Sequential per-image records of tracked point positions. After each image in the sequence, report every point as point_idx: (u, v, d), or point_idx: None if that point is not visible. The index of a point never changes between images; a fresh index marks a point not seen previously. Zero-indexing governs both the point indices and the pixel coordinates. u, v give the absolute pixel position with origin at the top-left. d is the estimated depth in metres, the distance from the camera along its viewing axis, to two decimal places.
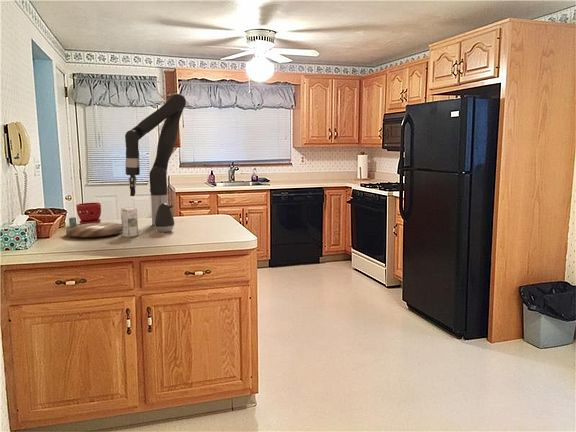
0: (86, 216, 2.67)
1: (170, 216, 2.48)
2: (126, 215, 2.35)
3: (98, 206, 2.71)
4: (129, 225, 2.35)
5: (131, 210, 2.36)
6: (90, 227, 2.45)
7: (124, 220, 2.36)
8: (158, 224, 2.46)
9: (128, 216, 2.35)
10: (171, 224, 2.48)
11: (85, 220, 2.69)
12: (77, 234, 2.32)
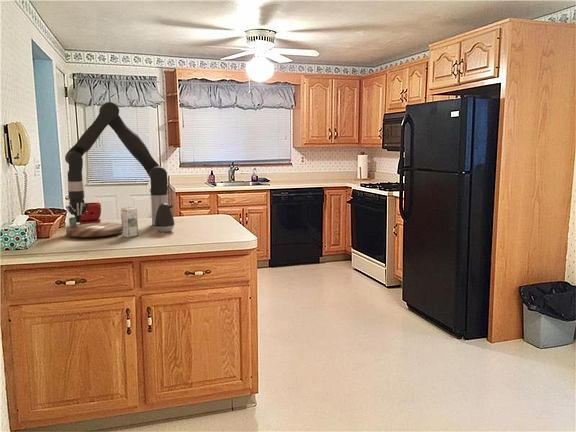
0: (86, 216, 2.67)
1: (170, 216, 2.48)
2: (126, 215, 2.35)
3: (98, 206, 2.71)
4: (129, 225, 2.35)
5: (131, 210, 2.36)
6: (90, 227, 2.45)
7: (124, 220, 2.36)
8: (158, 224, 2.46)
9: (128, 216, 2.35)
10: (171, 224, 2.48)
11: (85, 220, 2.69)
12: (77, 234, 2.32)
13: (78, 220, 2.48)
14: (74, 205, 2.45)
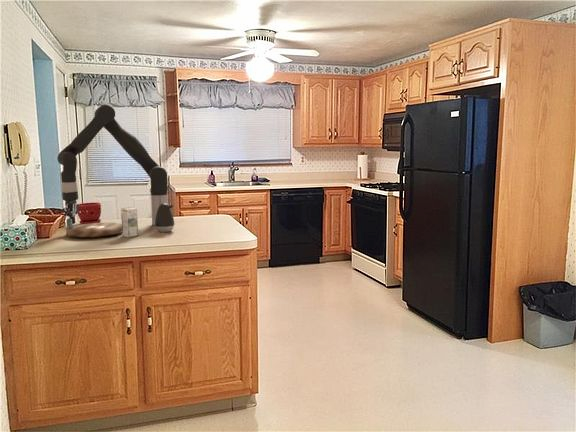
0: (86, 216, 2.67)
1: (170, 216, 2.48)
2: (126, 215, 2.35)
3: (98, 206, 2.71)
4: (129, 225, 2.35)
5: (131, 210, 2.36)
6: (90, 227, 2.44)
7: (124, 220, 2.36)
8: (158, 224, 2.46)
9: (128, 216, 2.35)
10: (171, 224, 2.48)
11: (85, 220, 2.69)
12: (86, 234, 2.31)
13: (73, 221, 2.45)
14: (70, 206, 2.42)
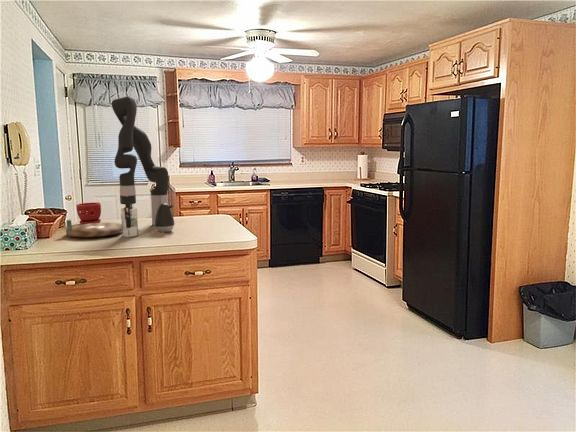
0: (86, 216, 2.67)
1: (170, 216, 2.48)
2: None
3: (98, 206, 2.71)
4: None
5: (131, 210, 2.36)
6: (90, 228, 2.43)
7: (124, 220, 2.36)
8: (158, 224, 2.46)
9: (128, 216, 2.35)
10: (171, 224, 2.48)
11: (85, 220, 2.69)
12: (95, 234, 2.32)
13: (130, 225, 2.35)
14: (130, 208, 2.35)
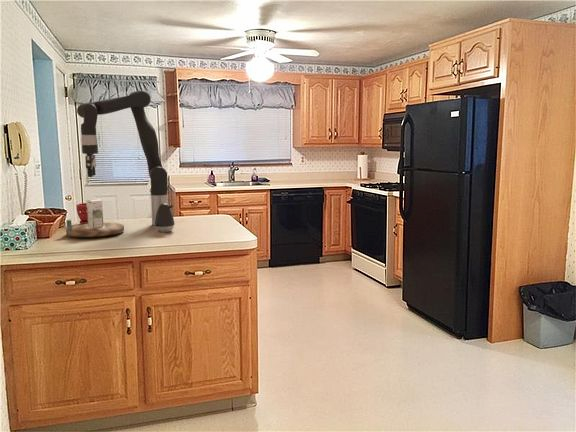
0: (86, 216, 2.67)
1: (170, 216, 2.48)
2: (90, 207, 2.40)
3: None
4: (93, 216, 2.40)
5: (96, 202, 2.40)
6: (90, 228, 2.43)
7: (89, 211, 2.41)
8: (158, 224, 2.46)
9: (92, 208, 2.39)
10: (171, 224, 2.48)
11: (85, 220, 2.69)
12: (95, 234, 2.32)
13: (92, 174, 2.36)
14: (91, 157, 2.36)
